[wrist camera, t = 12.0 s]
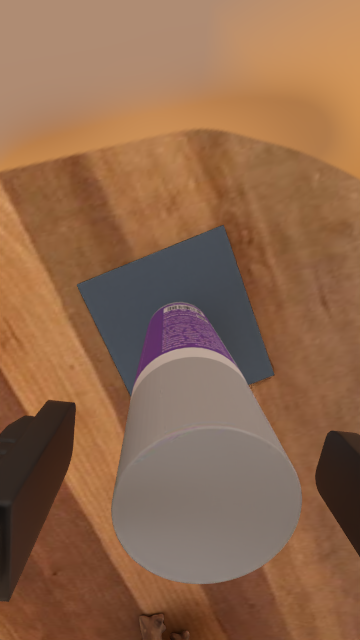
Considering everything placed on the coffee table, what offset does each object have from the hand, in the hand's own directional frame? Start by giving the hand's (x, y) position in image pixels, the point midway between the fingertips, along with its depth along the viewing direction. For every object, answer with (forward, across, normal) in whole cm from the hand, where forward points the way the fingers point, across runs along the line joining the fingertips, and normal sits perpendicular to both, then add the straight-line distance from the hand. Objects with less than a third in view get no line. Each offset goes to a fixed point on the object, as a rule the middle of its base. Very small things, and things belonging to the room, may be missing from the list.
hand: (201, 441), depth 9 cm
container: (+13, 0, 0) cm, 13 cm away
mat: (+13, 0, 0) cm, 13 cm away
